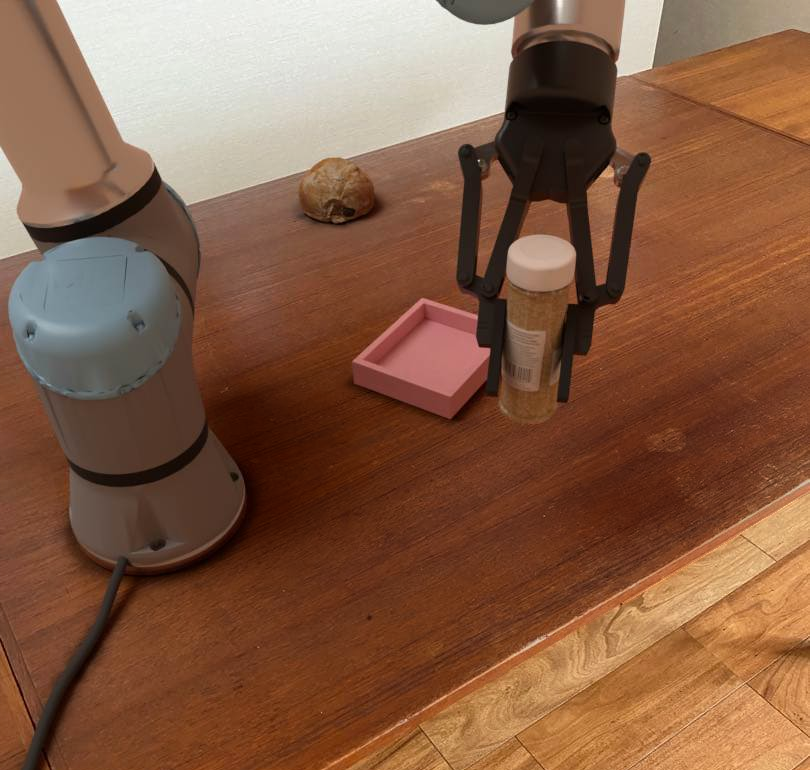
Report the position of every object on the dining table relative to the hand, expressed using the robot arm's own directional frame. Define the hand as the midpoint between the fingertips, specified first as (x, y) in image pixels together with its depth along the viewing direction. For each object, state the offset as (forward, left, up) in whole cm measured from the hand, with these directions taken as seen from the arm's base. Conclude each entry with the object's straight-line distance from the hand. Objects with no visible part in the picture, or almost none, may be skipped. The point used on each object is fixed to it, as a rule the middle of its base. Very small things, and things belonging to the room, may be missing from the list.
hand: (527, 396), depth 62 cm
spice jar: (+3, +1, -4) cm, 6 cm away
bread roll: (+43, +49, -16) cm, 67 cm away
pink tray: (+19, +19, -16) cm, 31 cm away
